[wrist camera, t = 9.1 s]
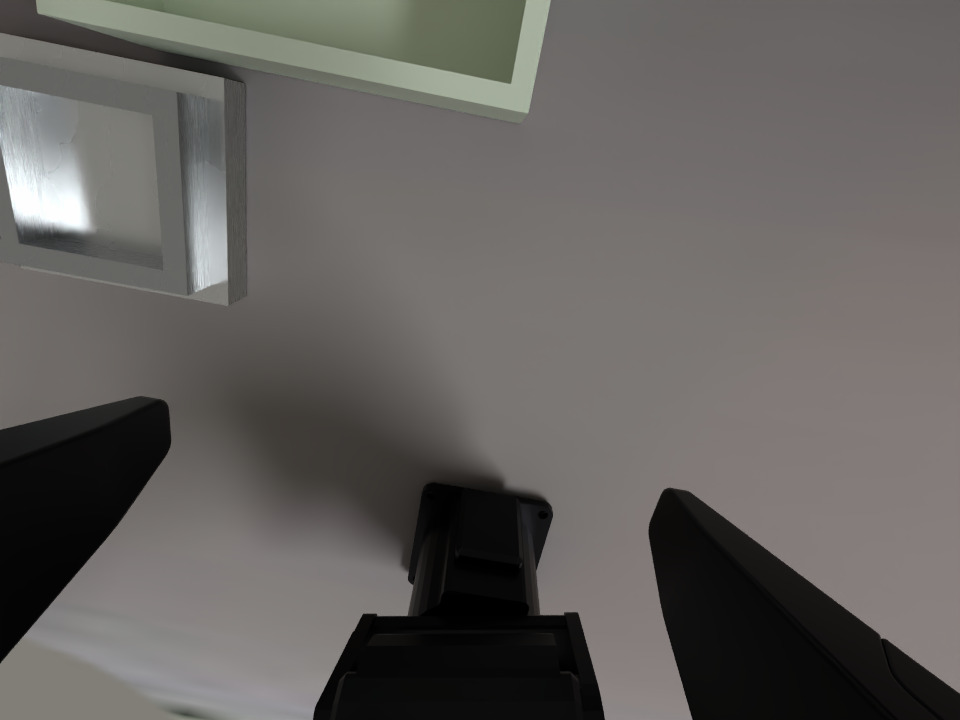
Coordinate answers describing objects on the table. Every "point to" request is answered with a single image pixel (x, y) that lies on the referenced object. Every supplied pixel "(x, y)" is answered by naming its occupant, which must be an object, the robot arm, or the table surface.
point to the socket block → (122, 171)
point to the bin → (348, 43)
